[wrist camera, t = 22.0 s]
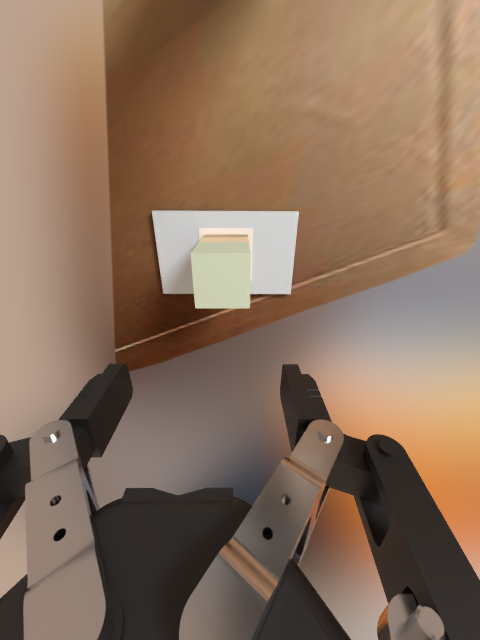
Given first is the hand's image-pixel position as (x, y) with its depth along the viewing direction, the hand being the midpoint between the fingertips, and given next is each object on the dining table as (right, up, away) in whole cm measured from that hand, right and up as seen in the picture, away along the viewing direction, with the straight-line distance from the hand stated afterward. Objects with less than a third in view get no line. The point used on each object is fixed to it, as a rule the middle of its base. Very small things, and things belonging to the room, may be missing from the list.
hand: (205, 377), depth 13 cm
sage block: (0, +10, +19) cm, 21 cm away
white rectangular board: (0, +13, +25) cm, 28 cm away
